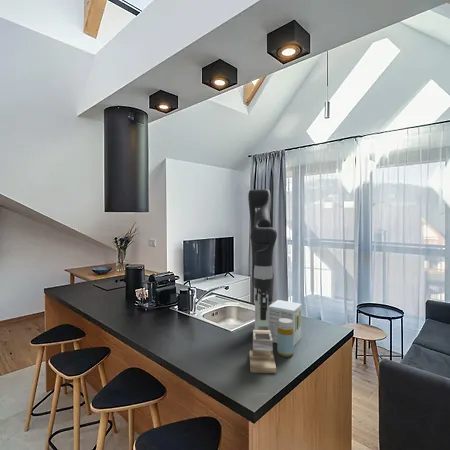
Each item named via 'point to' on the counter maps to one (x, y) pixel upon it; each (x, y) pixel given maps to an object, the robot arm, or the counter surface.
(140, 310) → the counter surface
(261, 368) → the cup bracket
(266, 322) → the rail post
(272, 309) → the supplement box
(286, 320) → the bottle
